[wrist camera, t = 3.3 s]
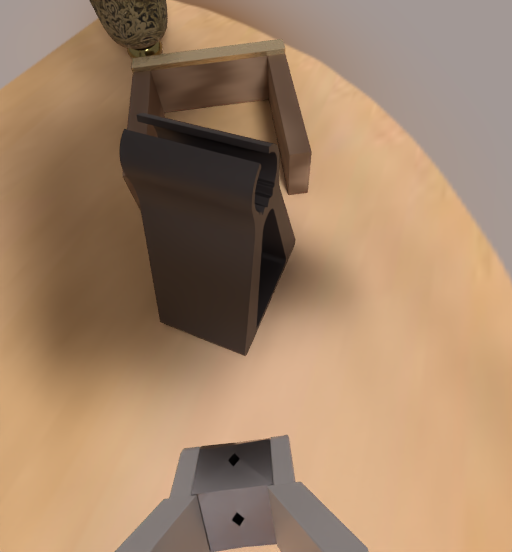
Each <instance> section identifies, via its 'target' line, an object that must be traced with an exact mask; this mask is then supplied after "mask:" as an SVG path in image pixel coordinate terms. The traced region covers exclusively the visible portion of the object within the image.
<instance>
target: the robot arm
mask: <svg viewBox="0 0 512 552" xmlns="http://www.w3.org/2000/svg"><path fill="white" fill-rule="evenodd" d="M273 544H277V546H278V548H279V549H280V551H281V552H368V548H367V547H366V546H365V545H364V544H363V543H362V542H361V541H360V540H359V539H358V538H357V537H356V536H355V535H354V534H353V533H352V532H351V531H350V530H349V529H348V528H347V527H346V526H345V525H344V524H343V523H342V522H341V521H340V520H339V519H338V518H337V517H336V516H335V515H334V514H333V513H332V512H331V511H330V510H329V509H328V508H327V507H326V506H325V505H324V504H323V503H322V502H321V501H320V500H319V499H318V498H317V497H316V496H315V495H314V494H313V493H312V492H311V491H310V490H309V489H308V488H307V487H306V486H305V485H304V484H303V483H302V482H295V476H294V469H293V462H292V455H291V448H290V441H289V437H288V435H284V436H277V437H271V439H270V438H266V439H259V440H252V441H244V442H237V443H228V444H218V445H209V446H201V447H193V448H184V449H183V450H182V452H181V454H180V458H179V462H178V466H177V470H176V474H175V478H174V482H173V485H172V489H171V493H170V497H169V499H163V501H162V502H161V503H160V504H159V505H158V506H157V507H156V508H155V509H154V510H153V511H152V512H151V513H150V514H149V516H148V517H147V518H146V519H145V520H144V521H143V522H142V523H141V524H140V525H139V526H138V527H137V528H136V529H135V531H134V532H133V533H132V534H131V535H130V536H129V537H128V538H127V539H126V540H125V541H124V542H123V543H122V544H121V546H120V547H119V548H118V549H117V550H116V551H115V552H216V551H222V550H228V549H235V548H241V547H251V546H262V545H273Z"/></svg>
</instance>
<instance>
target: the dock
mask: <svg viewBox="0 0 512 552" xmlns="http://www.w3.org/2000/svg"><path fill="white" fill-rule="evenodd" d="M131 69H132V72H133V77H132V87H131V97H130V107H129V117H128V127H127V130H131V131H135V132H138V133H142V134H146V135H150V136H154V137H158V136H157V132H156V130H155V128H154V126H153V125H149V124H145V123H141V122H138V121H137V114H139V113H147V114H151V115H155V116H159V117H163V118H164V113H165V112H173V111H180V110H188V109H196V108H204V107H212V106H220V105H227V104H235V103H243V102H251V101H259V100H267V99H269V102H270V107H271V112H272V116H273V121H274V126H275V131H276V136H277V141H278V146H279V151H280V155H281V160H282V165H283V170H284V175H285V180H286V185H287V190H288V195H292V194H300V193H308V184H309V173H310V163H311V148H310V145H309V141H308V137H307V133H306V130H305V126H304V122H303V119H302V115H301V111H300V107H299V104H298V100H297V96H296V92H295V89H294V85H293V81H292V77H291V74H290V70H289V66H288V62H287V59H286V55H285V46H284V42H283V39H278V40H270V41H262V42H255V43H247V44H239V45H231V46H223V47H215V48H208V49H200V50H192V51H184V52H176V53H169V54H161V55H153V56H145V57H137V58H132V66H131ZM123 178H124V180H125V182H126V184H127V186H128V187H129V189H130V191H131V193H132V195H133V197H134V199H135V200H136V202H137V204H138V206H139V208H140V203H139V199H138V196H137V193H136V190H135V188H134V186H133V185H132V183H131V182H130V180H129V179H128V178H127V177H126V175H125V173H124V171H123ZM140 210H141V208H140Z"/></svg>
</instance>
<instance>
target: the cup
mask: <svg viewBox="0 0 512 552" xmlns="http://www.w3.org/2000/svg"><path fill="white" fill-rule="evenodd" d="M90 2H91V4H92V6H93V8H94V10H95V12H96V14H97V16H98V18H99V20H100V21H101V23H102V25H103V27H104V28H105V30H106V31H107V33H108V34H109V35H110V37H111V38H112V39H113V40H114V41H115V42H117V43H118V44H120V45H121V46H123V47H126V48H127V51H128V54H129V55H130V56H131V58H137V57H145V56H153V55H161V53H162V43H161V41H160V39H161V38H162V37H163V35H164V33H165V31H166V28H167V5H166V0H90Z"/></svg>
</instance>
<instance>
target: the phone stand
mask: <svg viewBox="0 0 512 552" xmlns="http://www.w3.org/2000/svg"><path fill="white" fill-rule="evenodd" d="M137 121H138V122H141V123H145V124H149V125H153V126H154V128H155V130H156V132H157V136H158V137H154V136H150V135H146V134H142V133H138V132H135V131H131V130H127V129H124V131H123V134H122V137H121V142H120V161H121V166H122V169H123V171H124V173H125V175H126V177H127V178H128V179H129V180H130V182H131V183H132V185H133V186H134V188H135V190H136V193H137V196H138V199H139V203H140V208H141V214H142V220H143V225H144V231H145V237H146V242H147V248H148V254H149V260H150V265H151V271H152V277H153V283H154V288H155V294H156V300H157V306H158V311H159V317H160V322H161V323H164V324H166V325H169V326H171V327H174V328H176V329H179V330H181V331H184V332H186V333H189V334H191V335H194V336H196V337H199V338H201V339H204V340H206V341H209V342H211V343H214V344H216V345H219V346H222V347H224V348H227V349H229V350H232V351H234V352H237V353H239V354H242V355H244V356H246V355H247V353H248V351H249V348H250V346H251V344H252V341H253V339H254V337H255V334H256V332H257V330H258V328H259V325H260V323H261V321H262V318H263V316H264V314H265V312H266V309H267V307H268V305H269V302H270V300H271V297H272V294H273V293H274V291H275V289H276V286H277V284H278V282H279V279H280V277H281V275H282V272H283V270H284V268H285V266H286V263H287V261H288V259H289V256H290V254H291V252H292V249H293V247H294V244H295V237H294V234H293V230H292V227H291V224H290V220H289V217H288V214H287V210H286V207H285V204H284V200H283V197H282V194H281V190H280V186H279V162H280V155H279V149H278V146H277V145H276V144H273V143H269V142H264V141H260V140H256V139H252V138H248V137H243V136H239V135H235V134H231V133H227V132H222V131H218V130H214V129H210V128H205V127H201V126H197V125H193V124H189V123H184V122H180V121H176V120H172V119H168V118H163V117H159V116H155V115H151V114H147V113H139V114H137Z"/></svg>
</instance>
